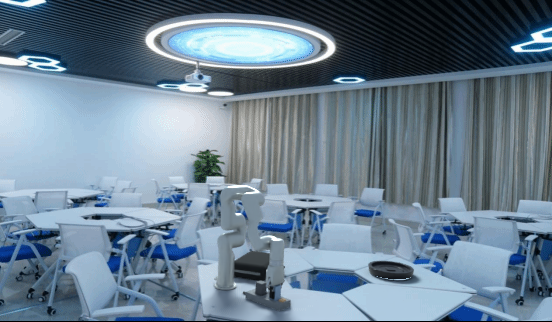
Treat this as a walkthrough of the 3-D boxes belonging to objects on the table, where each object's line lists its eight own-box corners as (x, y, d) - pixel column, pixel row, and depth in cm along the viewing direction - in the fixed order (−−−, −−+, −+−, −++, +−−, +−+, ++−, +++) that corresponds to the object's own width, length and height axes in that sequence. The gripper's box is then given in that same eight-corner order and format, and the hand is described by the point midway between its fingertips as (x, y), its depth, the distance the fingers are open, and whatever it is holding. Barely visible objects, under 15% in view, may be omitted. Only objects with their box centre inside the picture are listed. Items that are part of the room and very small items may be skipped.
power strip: (237, 295, 215) (238, 278, 215) (249, 291, 222) (249, 274, 222) (279, 311, 196) (280, 292, 195) (290, 306, 202) (291, 288, 202)
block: (269, 300, 203) (269, 284, 203) (274, 298, 206) (274, 283, 206) (275, 302, 200) (276, 287, 200) (280, 300, 204) (281, 285, 203)
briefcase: (274, 284, 236) (275, 268, 236) (227, 277, 246) (227, 261, 246) (290, 268, 270) (291, 254, 270) (248, 263, 280) (249, 249, 280)
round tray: (420, 283, 251) (405, 269, 281) (420, 273, 251) (406, 261, 281) (373, 280, 252) (364, 267, 282) (373, 271, 252) (364, 259, 282)
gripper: (281, 258, 212) (279, 291, 212) (260, 263, 199) (258, 299, 200) (291, 261, 207) (290, 295, 207) (271, 267, 194) (269, 303, 195)
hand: (274, 296), depth 203 cm, fingers closed on block, 4 cm apart
